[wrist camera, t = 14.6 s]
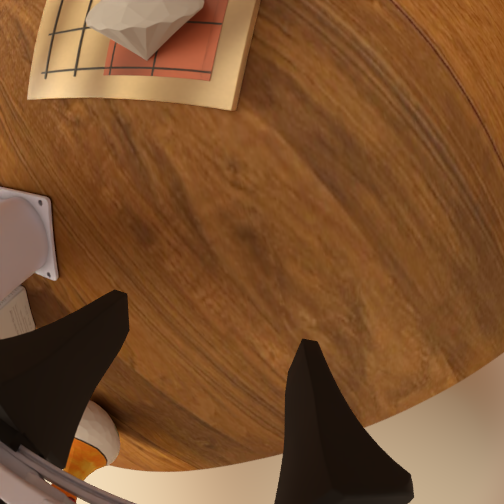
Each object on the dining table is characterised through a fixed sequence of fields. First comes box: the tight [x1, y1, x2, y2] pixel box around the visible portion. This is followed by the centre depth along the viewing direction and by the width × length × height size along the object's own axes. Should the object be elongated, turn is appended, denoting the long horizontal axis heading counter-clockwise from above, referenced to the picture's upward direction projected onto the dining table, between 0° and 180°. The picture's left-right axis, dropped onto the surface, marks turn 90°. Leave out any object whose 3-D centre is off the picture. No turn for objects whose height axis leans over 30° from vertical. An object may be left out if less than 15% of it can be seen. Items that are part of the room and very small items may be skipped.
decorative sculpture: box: [0, 400, 120, 504], centre depth 21 cm, size 20×8×30 cm, turn 178°
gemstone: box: [85, 0, 204, 60], centre depth 12 cm, size 6×6×5 cm
